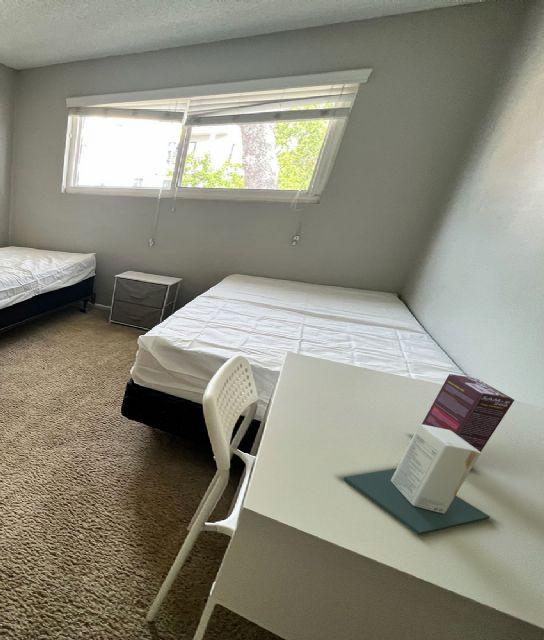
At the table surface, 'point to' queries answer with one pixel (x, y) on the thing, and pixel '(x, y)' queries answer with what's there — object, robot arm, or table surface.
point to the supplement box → (468, 409)
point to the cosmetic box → (434, 468)
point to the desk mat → (413, 517)
